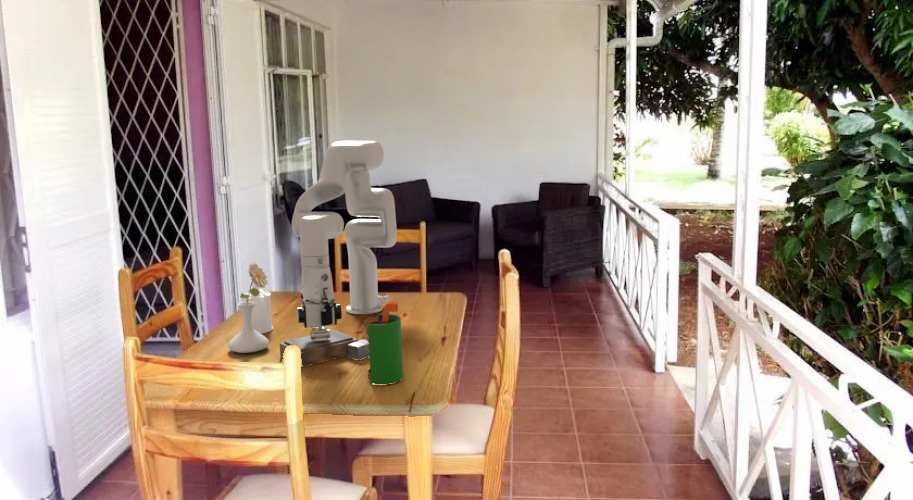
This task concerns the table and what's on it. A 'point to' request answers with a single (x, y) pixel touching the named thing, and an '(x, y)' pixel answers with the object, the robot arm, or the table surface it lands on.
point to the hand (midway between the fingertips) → (318, 321)
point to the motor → (385, 347)
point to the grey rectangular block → (358, 349)
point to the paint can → (260, 310)
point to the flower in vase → (248, 336)
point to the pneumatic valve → (317, 319)
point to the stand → (320, 347)
